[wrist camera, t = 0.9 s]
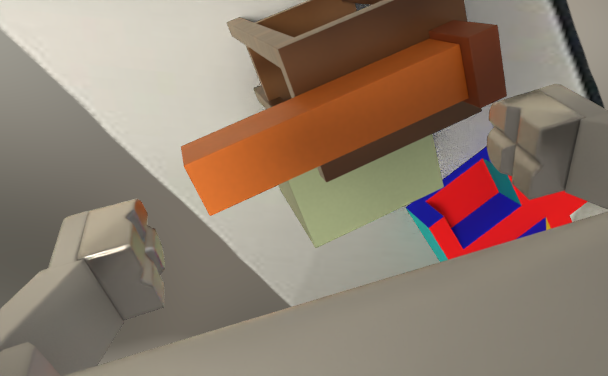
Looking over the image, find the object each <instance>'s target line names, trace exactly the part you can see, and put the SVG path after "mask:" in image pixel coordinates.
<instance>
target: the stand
mask: <svg viewBox="0 0 608 376" xmlns="http://www.w3.org/2000/svg"><path fill="white" fill-rule="evenodd" d="M355 3H360V4H372V5H370V6H368V7H366V8H363V9H361V10H358V11H357V9H356V5H355ZM453 20H457V21H466V22H467V16H466V10H465V4H464V0H308V1H306V2H303V3H301V4H298V5H296V6H293V7H291V8H289V9H286V10H284V11H281V12H279V13H276V14H274V15H272V16H269V17H267V18H264V19H262V20H259V21H257V22H255V23H254V22H251V21H248V20H245V19H243V18H240V17H239V18H236V19H234V20H231V21H229V22H227V25H228V27H229V30H230V32H231V35H232V36H233V37H234V38H236V39H237V40H239V41H240V42H242V43H243V44H245V45H246V47H247V50H248V52H249V55H250V57H251V60H252V62H253V65H254V68H255V70H256V73H257V75H258V78H259V80H260V83H261V86H259V87H256V88H254V91H255V94H256V96H257V99H258V101H259V102H260V103H261V104H262V105H263V106H264V108H265V109H268V108H271V107H273V106H275V105H278V104H280V103H282V102H284V101H287V100H289V99H291V98H294V97H296V96H298V95H301V94H303V93H305V92H307V91H310V90H312V89H314V88H317V87H319V86H321V85H324V84H326V83H328V82H330V81H333V80H335V79H337V78H340V77H342V76H344V75H346V74H349V73H351V72H353V71H356V70H358V69H360V68H363V67H365V66H367V65H369V64H372V63H374V62H376V61H379V60H381V59H383V58H386V57H388V56H390V55H392V54H395V53H397V52H399V51H402V50H404V49H406V48H409V47H411V46H413V45H415V44H418V43H420V42H422V41H425V40H427V39H430V36H429V31H430V30H432V29H434V28H436V27H439V26H441V25H443V24H446V23H448V22H450V21H453ZM481 111H482V109H481V108H478V107H476V106H473V105H470V104H468V103H465V102H462V101H461V102H459V103H457V104H455V105H453V106H450V107H448V108H446V109H444V110H442V111H439V112H437V113H435V114H433V115H431V116H428V117H426V118H424V119H422V120H420V121H417V122H415V123H413V124H411V125H409V126H406V127H404V128H402V129H400V130H398V131H396V132H393V133H391V134H389V135H387V136H385V137H382V138H380V139H378V140H376V141H374V142H371V143H369V144H367V145H365V146H363V147H360V148H358V149H356V150H354V151H352V152H349V153H347V154H345V155H343V156H341V157H338V158H336V159H334V160H332V161H330V162H328V163H325V164H323V165H321V166H319V167H317V168H318V171H319V174H320V176H321V177H322V178H323V179H324V180H325V181H326V182H329V181H331V180H333V179H336V178H338V177H340V176H342V175H344V174H346V173H349V172H351V171H353V170H355V169H357V168H359V167H362V166H364V165H366V164H368V163H370V162H372V161H375V160H377V159H379V158H381V157H383V156H385V155H388V154H390V153H392V152H394V151H396V150H398V149H401V148H403V147H405V146H407V145H409V144H411V143H414V142H416V141H418V140H420V139H422V138H425V137H427V136H429V135H431V134H433V133H435V132H438V131H440V130H442V129H444V128H446V127H448V126H451V125H453V124H455V123H457V122H459V121H461V120H464V119H466V118H468V117H470V116H472V115H474V114H477V113H479V112H481Z"/></svg>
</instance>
